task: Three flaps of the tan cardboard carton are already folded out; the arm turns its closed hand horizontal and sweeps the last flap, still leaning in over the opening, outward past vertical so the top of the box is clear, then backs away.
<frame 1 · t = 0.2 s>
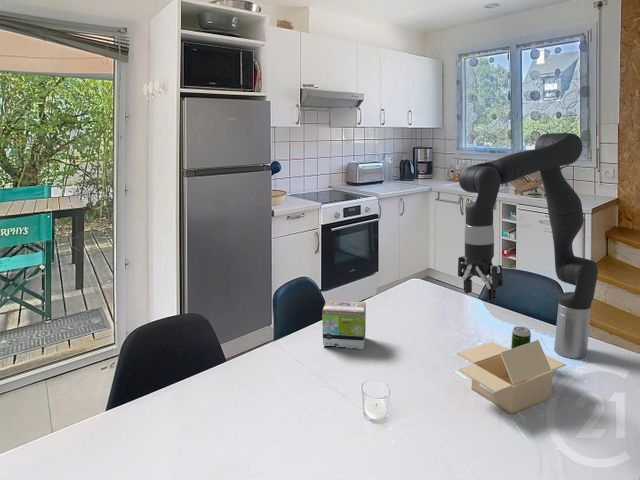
hand: (479, 296, 121), 29 cm above the table, tool pointing down, fingers open, 8 cm apart
flap: (525, 361, 119), point 12 cm above the table, hinge at -33.0°
beer can: (519, 364, 141), on the table
tea box: (344, 343, 160), on the table
carton: (510, 393, 125), on the table
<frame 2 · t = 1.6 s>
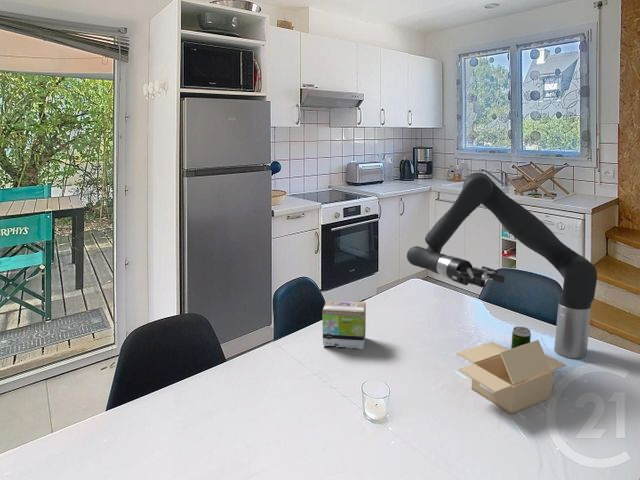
hand: (494, 281, 129), 30 cm above the table, tool horizontal, fingers open, 7 cm apart
nothing on the table moved.
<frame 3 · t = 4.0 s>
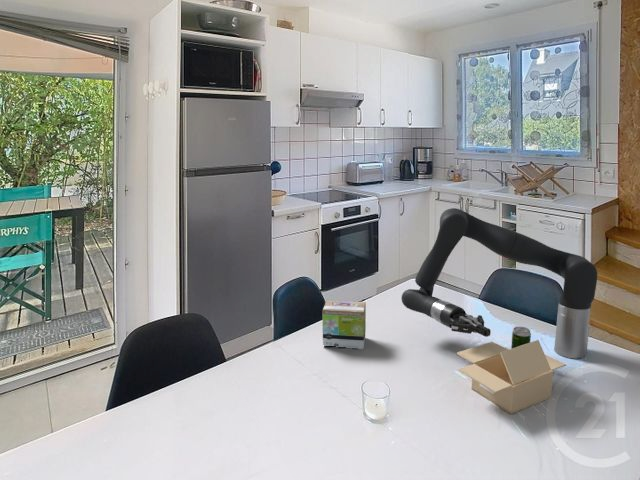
hand: (488, 333, 129), 15 cm above the table, tool horizontal, fingers closed
nothing on the table moved.
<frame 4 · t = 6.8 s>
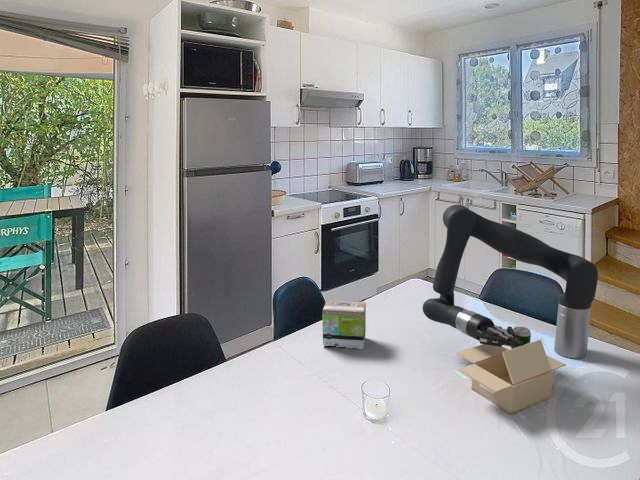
hand: (521, 346, 119), 16 cm above the table, tool horizontal, fingers closed
flap: (527, 361, 118), point 12 cm above the table, hinge at -27.9°, touching gripper
everything else where it was.
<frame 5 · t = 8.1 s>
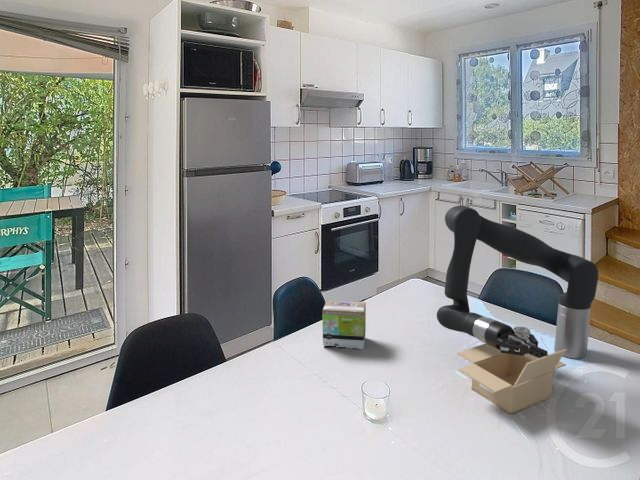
hand: (545, 355, 113), 16 cm above the table, tool horizontal, fingers closed
flap: (540, 367, 115), point 12 cm above the table, hinge at 22.5°, touching gripper
everything else where it was.
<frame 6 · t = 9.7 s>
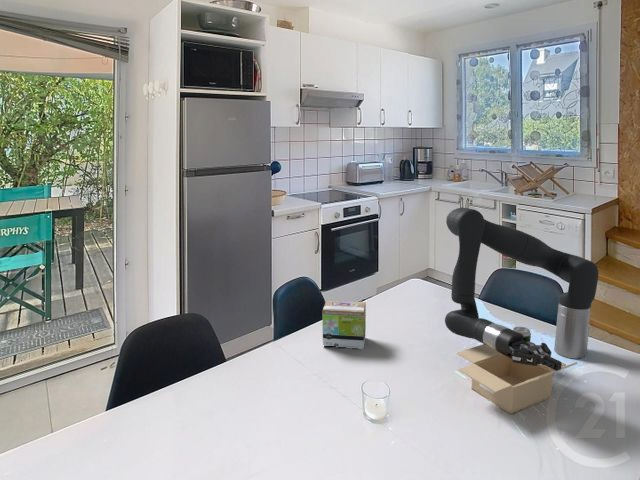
hand: (559, 366, 109), 15 cm above the table, tool horizontal, fingers closed
flap: (546, 374, 113), point 11 cm above the table, hinge at 48.8°, touching gripper
everything else where it was.
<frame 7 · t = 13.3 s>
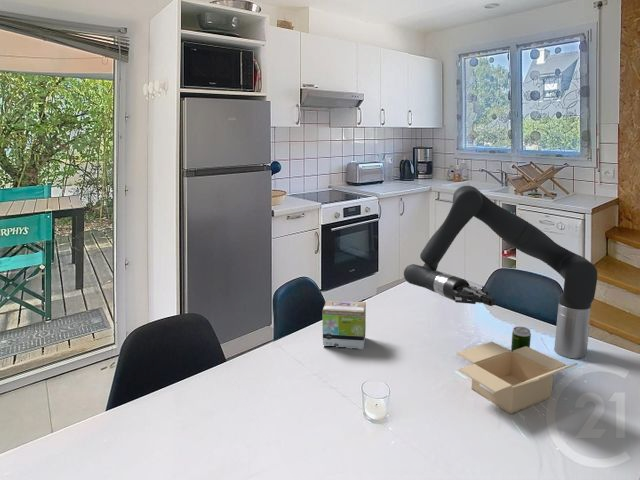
hand: (493, 302, 126), 25 cm above the table, tool horizontal, fingers closed
flap: (546, 374, 113), point 11 cm above the table, hinge at 49.9°
everything else where it was.
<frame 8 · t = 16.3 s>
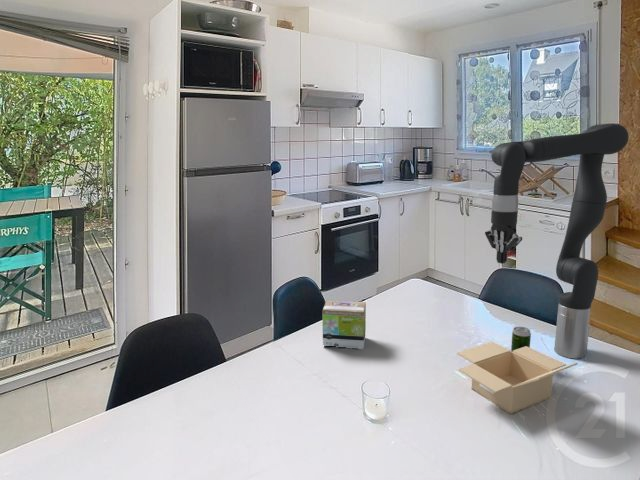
hand: (501, 262, 138), 33 cm above the table, tool pointing down, fingers closed
nothing on the table moved.
at the end: flap at +50° (first picture: -33°) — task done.
